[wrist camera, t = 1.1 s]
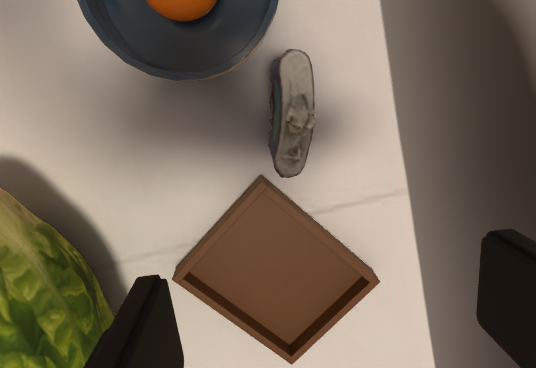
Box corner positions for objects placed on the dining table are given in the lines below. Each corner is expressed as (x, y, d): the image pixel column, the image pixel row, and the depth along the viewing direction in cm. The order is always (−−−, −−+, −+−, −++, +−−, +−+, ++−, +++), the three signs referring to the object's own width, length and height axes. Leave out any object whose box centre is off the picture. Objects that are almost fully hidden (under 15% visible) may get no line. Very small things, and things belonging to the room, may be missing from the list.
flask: (269, 56, 32) (281, 44, 22) (301, 58, 32) (328, 46, 22) (266, 156, 34) (275, 187, 24) (296, 156, 35) (317, 188, 24)
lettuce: (77, 141, 33) (-62, 187, 18) (162, 363, 40) (113, 525, 26) (-76, 176, 33) (-338, 251, 18) (37, 392, 41) (-84, 569, 26)
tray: (176, 267, 37) (171, 279, 35) (260, 174, 35) (261, 180, 33) (289, 349, 41) (291, 365, 39) (372, 270, 39) (380, 281, 36)
